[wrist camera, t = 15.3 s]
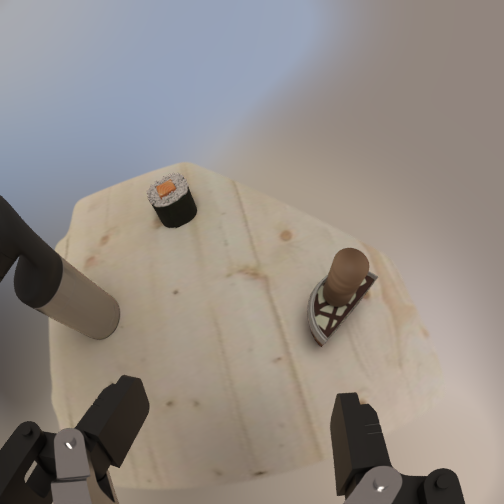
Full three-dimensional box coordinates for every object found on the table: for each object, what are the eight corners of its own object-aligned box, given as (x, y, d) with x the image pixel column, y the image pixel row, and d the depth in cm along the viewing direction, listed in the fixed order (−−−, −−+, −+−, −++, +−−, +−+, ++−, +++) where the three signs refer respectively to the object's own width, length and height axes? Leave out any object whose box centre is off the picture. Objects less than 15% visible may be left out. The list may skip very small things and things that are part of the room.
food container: (334, 276, 47) (346, 247, 38) (361, 298, 44) (380, 274, 36) (286, 329, 43) (288, 310, 35) (315, 354, 41) (325, 342, 32)
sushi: (203, 214, 56) (193, 188, 49) (167, 234, 55) (152, 210, 48) (188, 190, 60) (178, 165, 53) (154, 208, 58) (141, 184, 51)
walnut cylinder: (322, 306, 34) (334, 281, 27) (322, 278, 36) (332, 247, 29) (352, 306, 34) (371, 281, 27) (351, 278, 36) (367, 248, 29)
